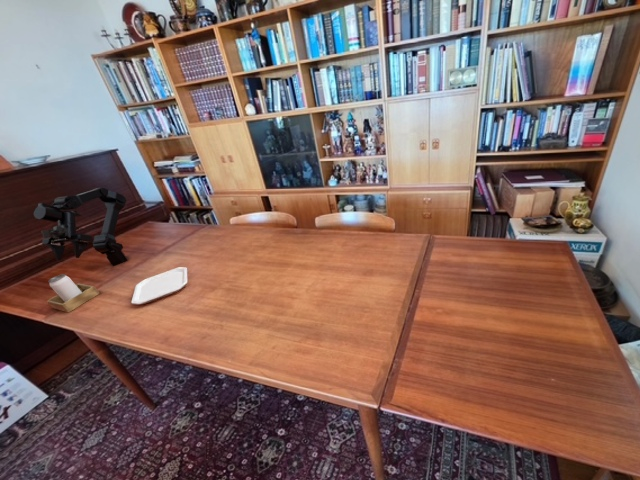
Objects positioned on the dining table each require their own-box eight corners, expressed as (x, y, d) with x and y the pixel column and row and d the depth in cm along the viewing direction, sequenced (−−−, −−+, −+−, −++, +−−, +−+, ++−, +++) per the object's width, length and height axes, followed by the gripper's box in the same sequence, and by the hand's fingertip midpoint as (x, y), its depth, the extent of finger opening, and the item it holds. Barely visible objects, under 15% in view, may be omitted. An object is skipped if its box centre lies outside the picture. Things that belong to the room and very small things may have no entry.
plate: (132, 311, 113) (129, 307, 112) (139, 285, 129) (136, 281, 128) (189, 289, 119) (186, 285, 118) (188, 268, 135) (186, 264, 134)
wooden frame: (84, 290, 134) (78, 283, 132) (99, 293, 129) (93, 286, 127) (53, 308, 125) (46, 301, 123) (68, 312, 120) (61, 304, 118)
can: (75, 305, 124) (54, 282, 117) (64, 305, 125) (42, 283, 119) (89, 295, 129) (70, 273, 122) (78, 295, 130) (59, 273, 124)
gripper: (26, 223, 124) (27, 259, 123) (65, 217, 122) (66, 254, 121) (57, 228, 135) (57, 262, 134) (92, 223, 133) (94, 257, 132)
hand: (68, 259), depth 130 cm, fingers open, 9 cm apart
